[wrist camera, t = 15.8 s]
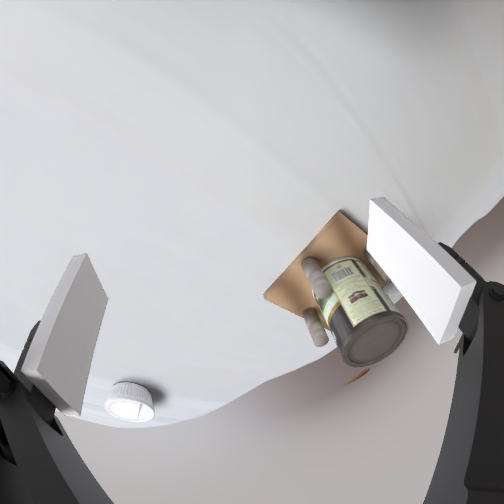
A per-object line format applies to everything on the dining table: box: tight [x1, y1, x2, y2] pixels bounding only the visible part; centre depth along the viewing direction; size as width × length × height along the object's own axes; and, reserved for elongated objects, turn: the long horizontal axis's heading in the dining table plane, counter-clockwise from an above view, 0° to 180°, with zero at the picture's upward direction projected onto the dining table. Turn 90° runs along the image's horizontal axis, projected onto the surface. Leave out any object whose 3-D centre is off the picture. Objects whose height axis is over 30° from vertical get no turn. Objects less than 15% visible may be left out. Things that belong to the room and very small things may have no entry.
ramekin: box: [104, 382, 155, 422], centre depth 59 cm, size 11×11×5 cm
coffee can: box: [312, 257, 408, 367], centre depth 44 cm, size 10×10×14 cm
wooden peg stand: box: [263, 211, 391, 347], centre depth 48 cm, size 18×18×8 cm
